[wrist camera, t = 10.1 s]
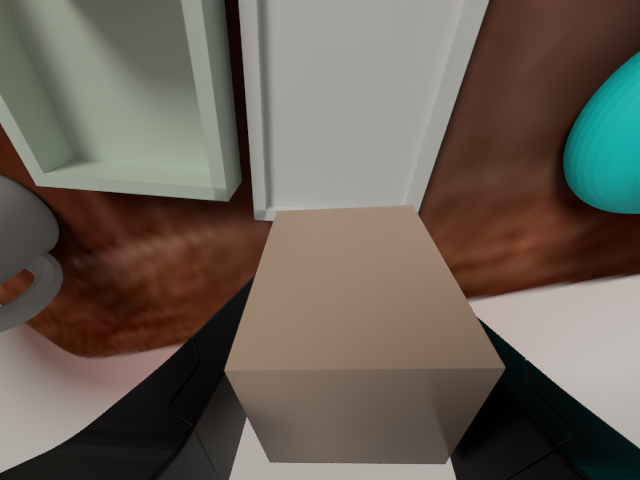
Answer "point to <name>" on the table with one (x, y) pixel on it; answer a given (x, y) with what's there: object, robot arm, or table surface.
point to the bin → (121, 95)
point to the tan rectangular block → (358, 342)
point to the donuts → (608, 144)
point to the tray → (350, 97)
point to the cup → (27, 251)
